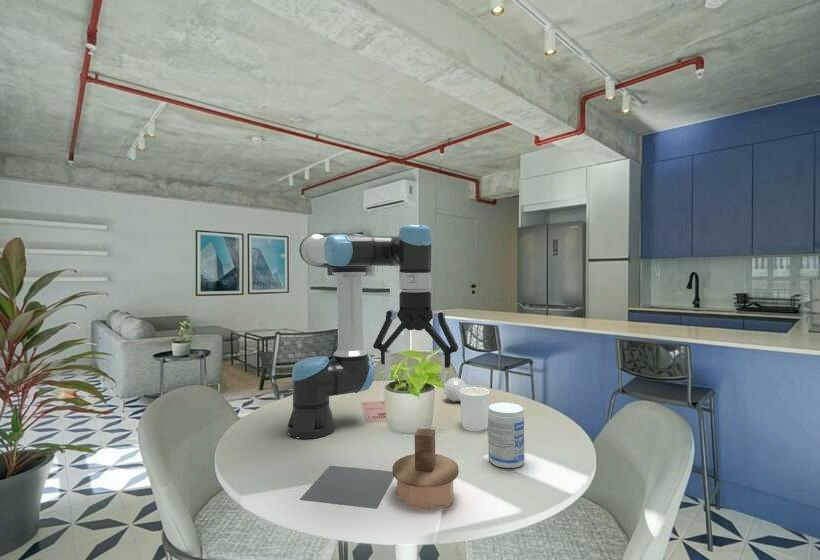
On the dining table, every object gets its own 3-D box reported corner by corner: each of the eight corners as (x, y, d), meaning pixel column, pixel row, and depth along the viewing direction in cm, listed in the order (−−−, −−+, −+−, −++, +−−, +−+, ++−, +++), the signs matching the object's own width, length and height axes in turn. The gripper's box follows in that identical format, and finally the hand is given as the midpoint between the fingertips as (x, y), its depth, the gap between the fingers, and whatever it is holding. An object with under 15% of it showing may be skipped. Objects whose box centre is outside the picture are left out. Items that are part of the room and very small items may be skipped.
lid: (384, 483, 90) (384, 442, 90) (401, 454, 105) (400, 419, 105) (454, 490, 87) (454, 448, 87) (461, 459, 102) (461, 423, 102)
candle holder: (488, 422, 144) (488, 387, 144) (491, 433, 134) (490, 395, 134) (459, 421, 145) (459, 386, 145) (460, 432, 135) (459, 394, 135)
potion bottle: (442, 402, 170) (479, 409, 167) (440, 394, 163) (479, 401, 159) (446, 381, 175) (483, 387, 171) (444, 372, 167) (482, 378, 164)
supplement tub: (523, 472, 108) (523, 414, 108) (486, 467, 111) (485, 411, 110) (525, 456, 117) (524, 403, 117) (490, 452, 120) (490, 400, 120)
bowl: (393, 508, 92) (393, 480, 92) (406, 481, 103) (405, 457, 103) (448, 514, 89) (448, 486, 89) (455, 486, 101) (454, 461, 101)
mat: (299, 504, 94) (299, 499, 94) (330, 469, 110) (330, 465, 110) (377, 513, 90) (376, 508, 90) (396, 475, 106) (396, 471, 106)
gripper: (360, 291, 99) (360, 380, 100) (466, 292, 94) (466, 387, 94) (370, 289, 107) (370, 372, 107) (469, 290, 101) (469, 378, 102)
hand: (415, 379), depth 101 cm, fingers open, 13 cm apart
